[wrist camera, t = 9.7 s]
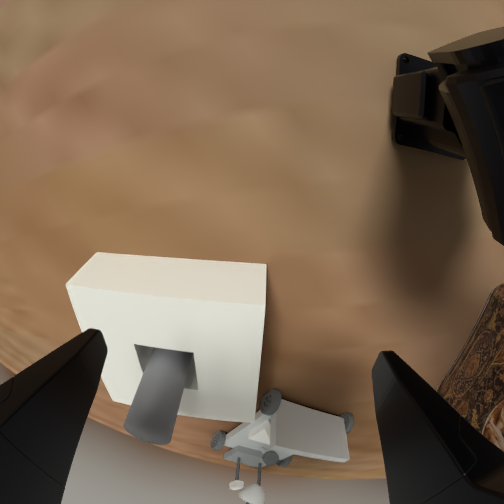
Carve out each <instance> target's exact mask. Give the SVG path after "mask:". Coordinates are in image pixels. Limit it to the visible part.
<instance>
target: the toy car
mask: <svg viewBox="0 0 504 504" xmlns="http://www.w3.org/2000/svg"><path fill="white" fill-rule="evenodd" d="M281 398H282V396H281V392H280V391H279V390H276V389H271V390H270V391H269V392H268V393H267V394H265V395H264V396H263V397H262V400H261V403H260V410H259V411H258V412H257V413H255V420H254V423H246V422H243V423H242V424H240V425H239V426H238V427H236V428H235V429H233V430H232V431H231V432H229V433H228V434H226V433H225V432H224V431H221V430H220V431H218V432H217V433H216V434H214V435H213V437H212V441H211V448H212V449H214V450H220V449H221V448H222V447H223V445H224V446H228V447H231V448H233V449H231V450H229V451H228V452H226V453H225V454H224V459H225V460H229V461H233V462H237V469H236V478H235V481H233V482H230V485H229V489H232V490H238V489H241V488H243V486H244V481H239V480H238V479H239V468H240V463H241V464H245V465H249V466H253V467H257V468H258V483H257V484H252V485H249V486H247V487H245V488H243V489H242V490H240V491H239V492H238V495H239V497H240V498H242V499H243V500H244V501H246V502H247V503H246V504H249V503H251V504H264V501H265V498H264V489H263V488H262V486H261V485H260V481H261V468H262V467H264V466H266V465H274V464H276V463H277V465H279V466H282V467H286V466H287V465H289V463H290V462H291V460H292V455H293V454H295V455H300V456H305V457H311V458H317V459H323V460H329V461H336V462H343V463H344V462H346V461H348V460H350V457H349V450H348V443H347V436H346V434H347V433H349V432H350V431H351V429H352V427H353V425H354V417H353V415H352V414H350V413H347V412H345V413H343V414H342V415H341V416H339V417H338V416H334V415H331V414H327V413H324V412H320V411H317V410H314V409H310V408H307V407H304V406H301V405H298V404H295V403H292V402H289V401H286V400H283V399H281Z"/></svg>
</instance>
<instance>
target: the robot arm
mask: <svg viewBox="0 0 504 504" xmlns="http://www.w3.org/2000/svg"><path fill="white" fill-rule="evenodd" d="M428 55H429V57H430V58H431V60H432V62H430V61H428V60H425V59H422V58H419V57H416V56H413V55H409V54H406V53H403V54H401V55H399V56H398V58H397V76H396V77H394V82H393V99H392V113H393V115H394V122H393V131H392V139H393V141H394V142H395V143H397V144H399V145H404V146H409V147H413V148H418V149H422V150H426V151H430V152H434V153H438V154H442V155H446V156H450V157H454V158H457V159H461V160H464V159H466V158H467V161H468V164H469V167H470V170H471V173H472V177H473V180H474V184H475V187H476V191H477V195H478V199H479V203H480V207H481V211H482V216H483V219H484V221H485V223H486V224H487V226H488V228H489V229H490V231H491V232H492V236H493V238H494V239H495V240H496V241H498V242H499V243H501V244H502V245H504V27H501V28H496V29H492V30H487V31H483V32H479V33H476V34H474V35H471V36H468V37H465V38H463V39H460V40H457V41H455V42H452V43H450V44H447V45H445V46H442V47H440V48H438V49H435V50H433V51H430V52H428ZM403 57H404V58H406V60H407V64H406V63H404V61H403ZM433 62H434V63H433ZM399 134H401V135H402V138H401V140H398V135H399ZM107 352H108V349H107V345H106V342H105V339H104V336H103V334H102V332H101V330H99V329H94V328H89V329H87V330H86V331H84V332H82V333H81V334H79V335H78V336H76V337H74V338H73V339H71V340H70V341H68V342H66V343H65V344H63V345H62V346H60V347H59V348H57V349H55V350H54V351H52V352H51V353H49V354H48V355H46V356H45V357H43V358H41V359H40V360H38V361H37V362H35V363H34V364H32V365H31V366H29V367H27V368H26V369H24V370H23V371H21V372H20V373H18V374H17V375H15V376H14V377H12V378H11V379H9V380H8V381H6V382H4V383H3V384H1V385H0V504H61V501H62V497H63V493H64V489H65V485H66V481H67V478H68V474H69V471H70V468H71V464H72V461H73V458H74V455H75V451H76V448H77V445H78V442H79V439H80V436H81V433H82V430H83V428H84V425H85V422H86V419H87V416H88V413H89V411H90V408H91V405H92V403H93V400H94V397H95V395H96V392H97V389H98V385H99V382H100V378H101V374H102V370H103V367H104V363H105V360H106V356H107ZM372 380H373V390H374V401H375V412H376V419H377V424H378V429H379V435H380V440H381V446H382V452H383V458H384V464H385V471H386V478H387V484H388V492H389V501H390V504H504V451H502V450H501V449H500V448H499V447H497V446H496V445H495V444H493V443H492V442H491V441H490V440H488V439H487V438H486V437H485V436H484V435H482V434H481V433H480V432H479V431H478V430H477V429H475V428H474V427H473V426H472V425H471V424H470V423H469V422H468V421H467V420H466V419H465V418H464V417H463V416H461V415H460V413H458V412H457V411H456V410H455V409H454V408H453V407H452V406H451V405H450V404H449V403H448V402H447V401H446V400H445V399H444V398H443V397H442V396H441V395H440V394H439V393H438V392H436V391H435V390H434V389H433V388H432V387H431V386H430V385H429V384H428V383H427V382H426V381H425V380H424V379H423V378H422V377H421V376H419V375H418V374H417V373H416V372H415V371H414V370H413V369H412V368H411V367H410V366H409V365H408V364H407V363H406V362H404V361H403V360H402V359H401V358H400V357H399V356H398V355H397V354H396V353H395V352H393V351H381V352H380V353H379V355H378V357H377V359H376V362H375V364H374V366H373V369H372Z"/></svg>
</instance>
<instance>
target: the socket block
mask: <svg viewBox="0 0 504 504" xmlns="http://www.w3.org/2000/svg"><path fill="white" fill-rule="evenodd" d="M66 287H67V290H68V293H69V297H70V300H71V303H72V306H73V309H74V311H75V314H76V317H77V320H78V323H79V325H80V328H81V331H82V332H84V331H86V330H87V329H89V328H94V329H99V330H101V332H102V334H103V336H104V339H105V342H106V345H107V349H108V352H107V356H106V360H105V363H104V367H103V370H102V374H101V378H102V380H103V382H104V384H105V386H106V388H107V390H108V392H109V394H110V396H111V398H112V400H113V401H116V402H120V403H124V404H128V405H131V404H132V401H133V399H134V396H135V394H136V391H137V388H138V386H139V383H140V381H141V378H142V376H143V373H144V371H145V368H146V366H147V363H148V361H149V358H150V356H151V353H152V351H153V348H154V347H156V348H162V349H170V350H177V351H185V352H193V357H192V361H191V364H190V368H189V372H188V375H187V379H186V383H185V387H184V390H183V394H182V398H181V402H180V406H179V410H178V413H177V414H178V415H184V416H190V417H198V418H205V419H214V420H223V421H233V422H246V423H254V420H255V411H256V401H257V391H258V381H259V371H260V361H261V350H262V340H263V329H264V317H265V306H266V264H259V263H243V262H227V261H212V260H197V259H183V258H169V257H155V256H141V255H127V254H114V253H101V252H96V253H95V254H94V255H93V256H92V257H91V258H90V259H89V260H88V261H87V262H86V263H85V264H84V265H83V267H82V268H81V269H80V270H79V271H78V272H77V273H76V274H75V275H74V276H73V277H72V278H71V279H70V280H69V281H68V282H67V283H66Z"/></svg>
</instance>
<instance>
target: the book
mask: <svg viewBox="0 0 504 504" xmlns="http://www.w3.org/2000/svg"><path fill="white" fill-rule="evenodd" d="M439 394H440V395H441V396H442V397H443V398H444V399H445V400H446V401H447V402H448V403H449V404H450V405H451V406H452V407H453V408H454V409H455V410H456V411H457V412H458V413H460V415H461V416H463V417H464V418H465V419H466V420H467V421H468V422H469V423H470V424H471V425H472V426H473V427H474V428H475V429H477V430H478V431H479V432H480V433H481V434H482V435H484V436H485V437H486V438H487V439H488V440H490V441H491V442H492V443H493V444H495V445H496V446H497V447H499V448H500V449H501V450H502V451H504V284H501V285H500V286H498V287H497V288H495V289H494V290H493V291H492V292H491V293H490V296H489V299H488V301H487V303H486V305H485V307H484V309H483V312H482V314H481V316H480V318H479V320H478V322H477V324H476V326H475V328H474V330H473V331H472V333H471V335H470V337H469V339H468V341H467V343H466V344H465V346H464V348H463V350H462V351H461V353H460V355H459V356H458V358H457V360H456V361H455V363H454V365H453V366H452V368H451V369H450V371H449V373H448V374H447V376H446V378H445V380H444V381H443V383H442V384H441V386H440V388H439Z"/></svg>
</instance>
